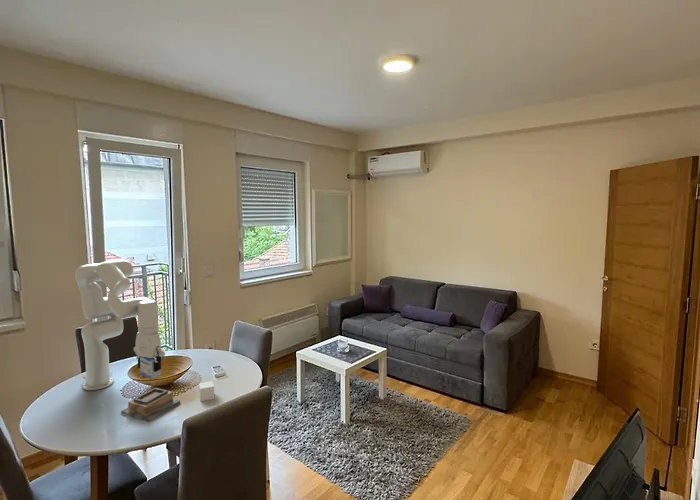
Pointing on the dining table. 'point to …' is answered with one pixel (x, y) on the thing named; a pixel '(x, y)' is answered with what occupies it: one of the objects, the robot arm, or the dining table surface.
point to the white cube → (206, 391)
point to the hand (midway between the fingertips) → (149, 368)
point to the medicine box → (148, 367)
